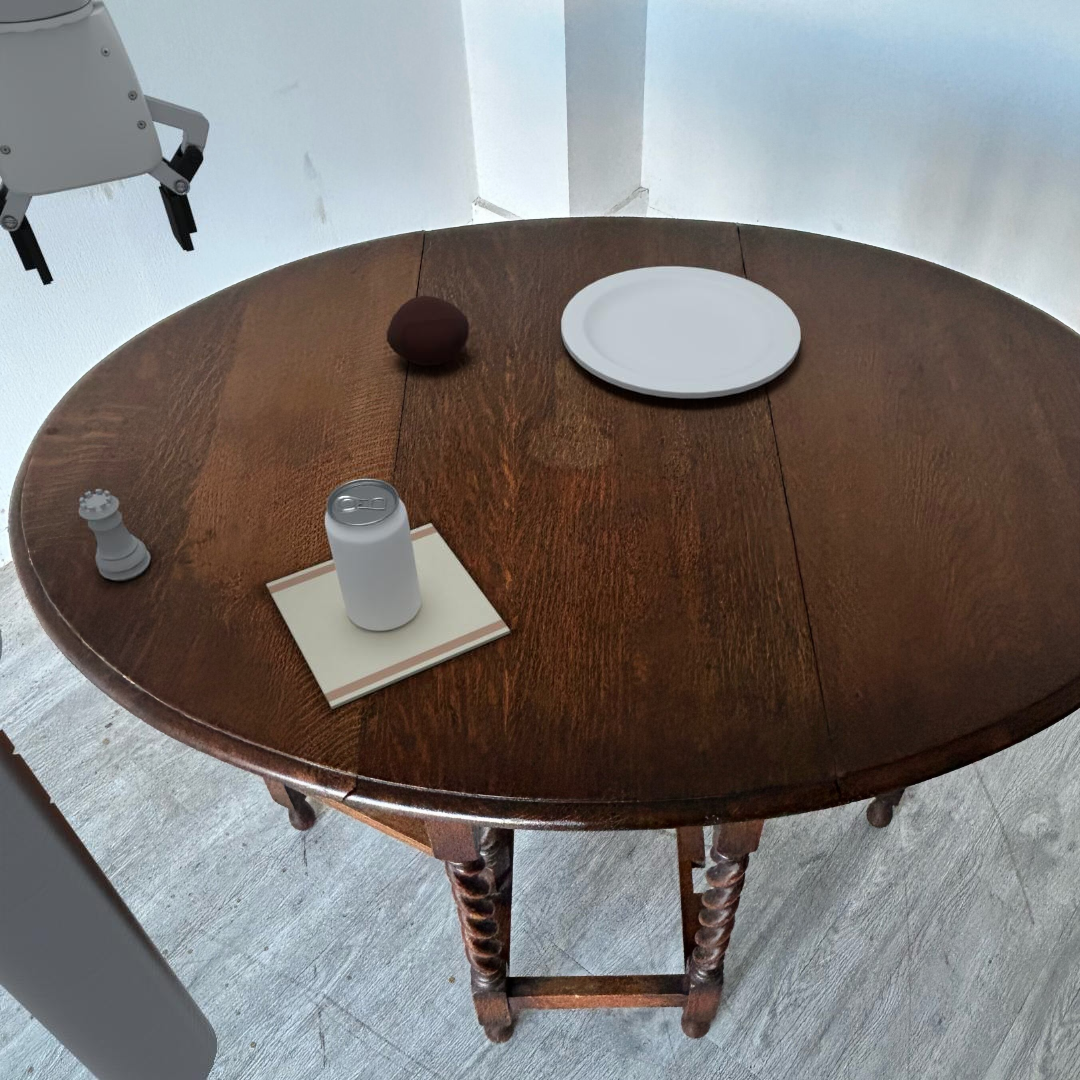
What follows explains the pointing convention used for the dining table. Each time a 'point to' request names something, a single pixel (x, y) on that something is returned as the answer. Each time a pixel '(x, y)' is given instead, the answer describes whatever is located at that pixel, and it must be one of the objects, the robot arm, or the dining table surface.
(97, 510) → the rook chess piece
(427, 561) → the napkin
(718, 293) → the plate
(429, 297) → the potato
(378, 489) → the can
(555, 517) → the dining table surface
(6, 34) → the robot arm
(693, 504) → the dining table surface
